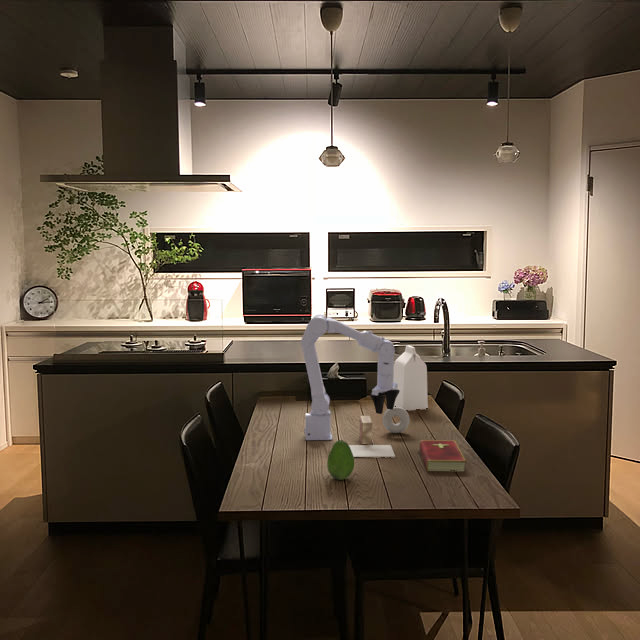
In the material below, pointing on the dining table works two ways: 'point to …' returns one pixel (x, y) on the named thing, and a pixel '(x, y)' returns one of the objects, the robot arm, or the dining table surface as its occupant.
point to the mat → (372, 451)
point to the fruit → (340, 460)
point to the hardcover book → (442, 455)
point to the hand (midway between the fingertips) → (384, 411)
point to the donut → (402, 424)
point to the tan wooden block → (366, 430)
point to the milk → (411, 380)
